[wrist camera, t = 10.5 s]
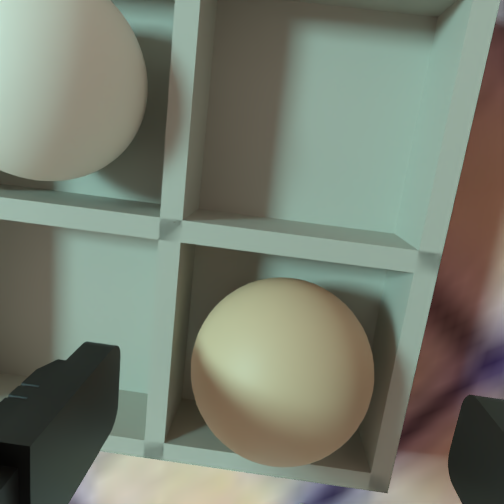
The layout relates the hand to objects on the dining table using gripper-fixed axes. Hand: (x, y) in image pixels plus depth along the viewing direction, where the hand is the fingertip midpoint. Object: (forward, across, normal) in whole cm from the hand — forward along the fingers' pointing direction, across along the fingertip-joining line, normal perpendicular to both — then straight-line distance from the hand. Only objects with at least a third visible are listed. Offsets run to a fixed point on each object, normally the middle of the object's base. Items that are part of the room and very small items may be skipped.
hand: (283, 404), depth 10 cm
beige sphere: (+2, 0, 0) cm, 2 cm away
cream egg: (+2, +7, -7) cm, 10 cm away
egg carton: (+5, +7, -3) cm, 9 cm away
